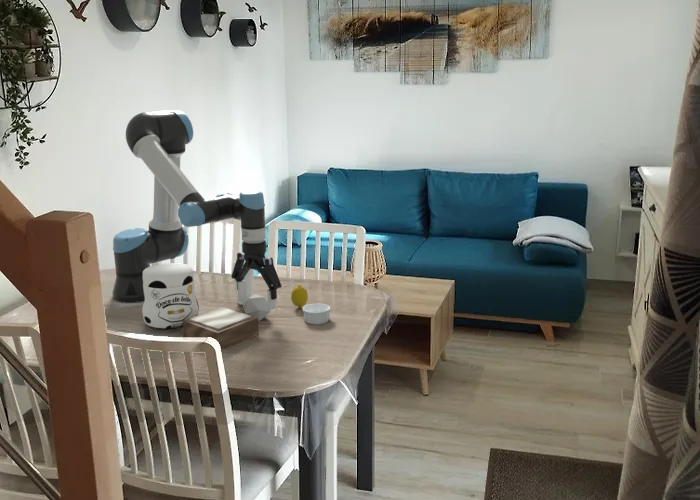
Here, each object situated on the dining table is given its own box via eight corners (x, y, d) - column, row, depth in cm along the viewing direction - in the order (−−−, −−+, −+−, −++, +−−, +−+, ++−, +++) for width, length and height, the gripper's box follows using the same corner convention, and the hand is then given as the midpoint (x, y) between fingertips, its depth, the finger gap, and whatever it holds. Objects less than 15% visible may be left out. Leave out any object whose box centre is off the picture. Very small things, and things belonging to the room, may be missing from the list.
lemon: (310, 306, 244) (310, 284, 242) (303, 311, 239) (302, 288, 237) (296, 304, 246) (295, 281, 244) (288, 309, 241) (287, 286, 239)
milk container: (174, 338, 218) (170, 281, 213) (131, 328, 226) (126, 273, 221) (210, 319, 232) (207, 266, 228) (169, 311, 240) (165, 259, 236)
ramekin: (299, 324, 229) (298, 311, 228) (308, 314, 237) (307, 302, 236) (325, 326, 227) (325, 313, 225) (333, 316, 235) (333, 304, 234)
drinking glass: (251, 307, 244) (249, 264, 240) (232, 305, 245) (230, 263, 241) (257, 300, 250) (256, 258, 246) (239, 299, 251) (237, 257, 247)
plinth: (183, 337, 218) (182, 319, 216) (223, 322, 230) (222, 304, 228) (218, 350, 208) (217, 331, 207) (258, 334, 220) (258, 315, 219)
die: (250, 314, 239) (235, 297, 232) (272, 301, 238) (258, 284, 232) (254, 331, 232) (239, 313, 226) (277, 318, 232) (263, 300, 226)
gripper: (218, 237, 231) (222, 299, 236) (273, 248, 216) (276, 315, 221) (235, 232, 237) (239, 294, 242) (291, 243, 221) (293, 309, 227)
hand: (257, 304), depth 232 cm, fingers open, 13 cm apart
